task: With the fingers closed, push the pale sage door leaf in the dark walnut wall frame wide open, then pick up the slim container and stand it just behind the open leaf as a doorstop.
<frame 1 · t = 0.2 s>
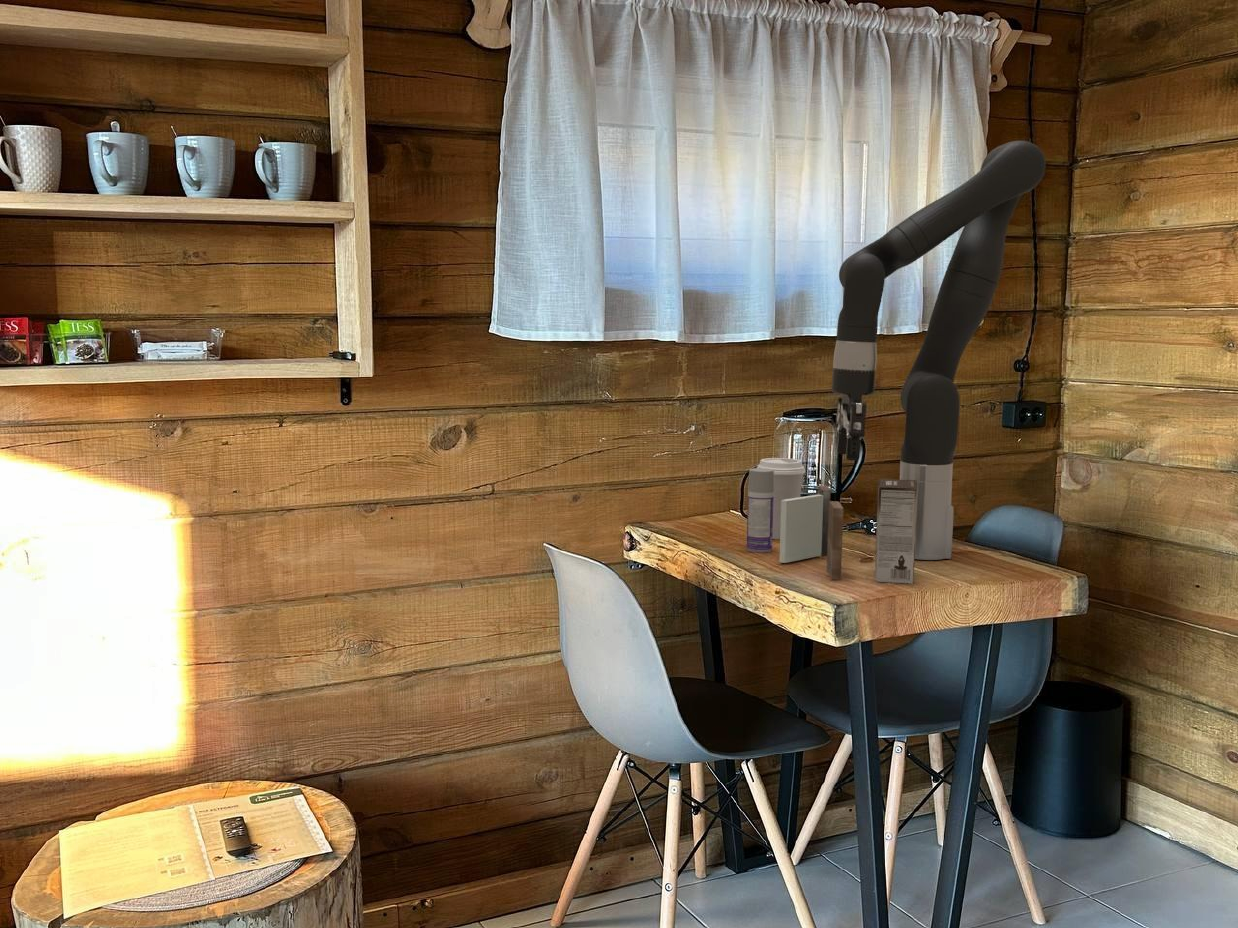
hand: (847, 457, 215), 18 cm above the table, tool pointing down, fingers open, 8 cm apart
coffee cup: (778, 537, 234), on the table
door leaf: (801, 528, 212), point 6 cm above the table, hinge at 45.0°
container: (759, 551, 221), on the table
coffee box: (894, 578, 201), on the table
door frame: (828, 563, 210), on the table
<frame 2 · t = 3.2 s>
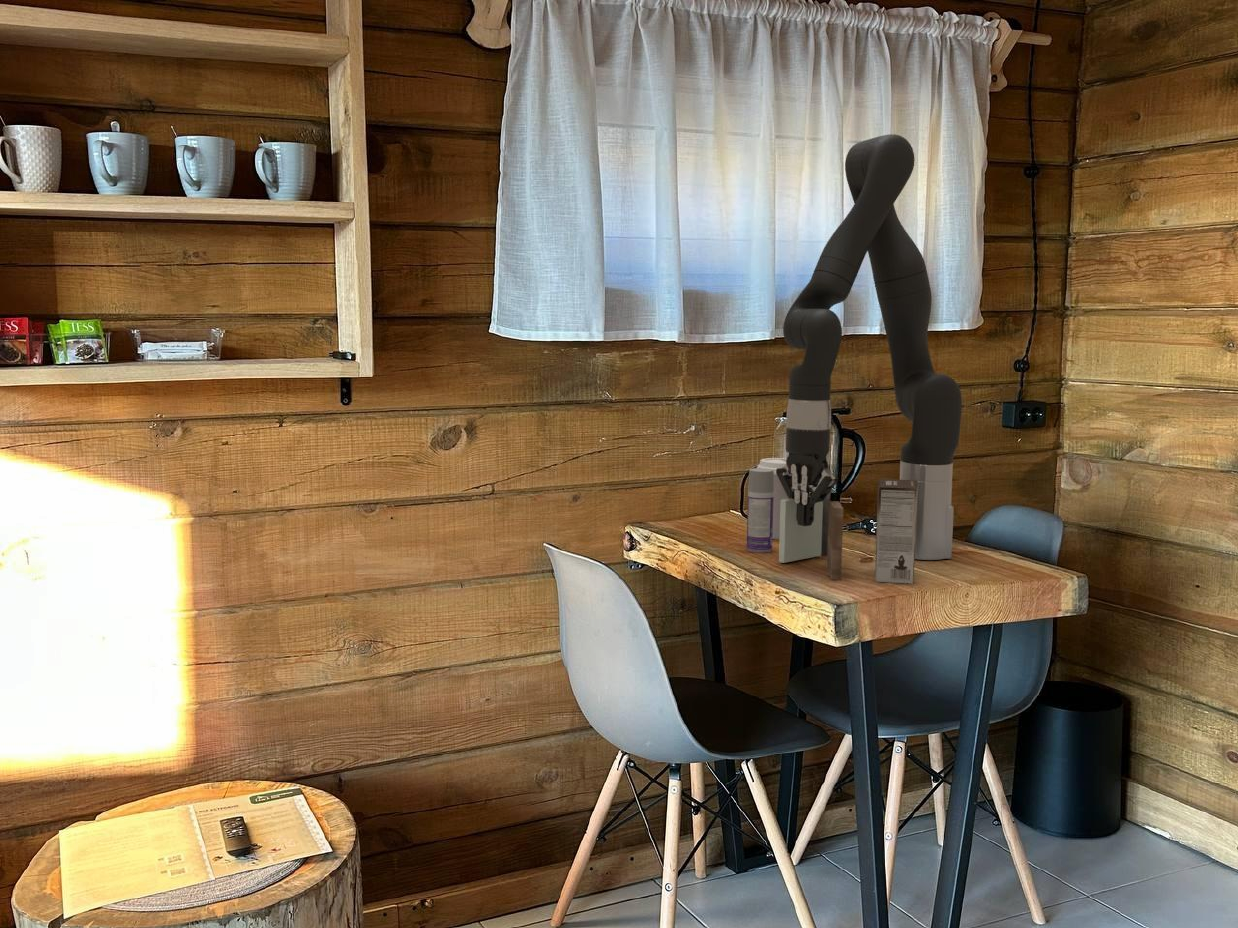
hand: (804, 525, 207), 7 cm above the table, tool pointing down, fingers closed
door leaf: (801, 528, 212), point 6 cm above the table, hinge at 45.9°, touching gripper
everything else where it was.
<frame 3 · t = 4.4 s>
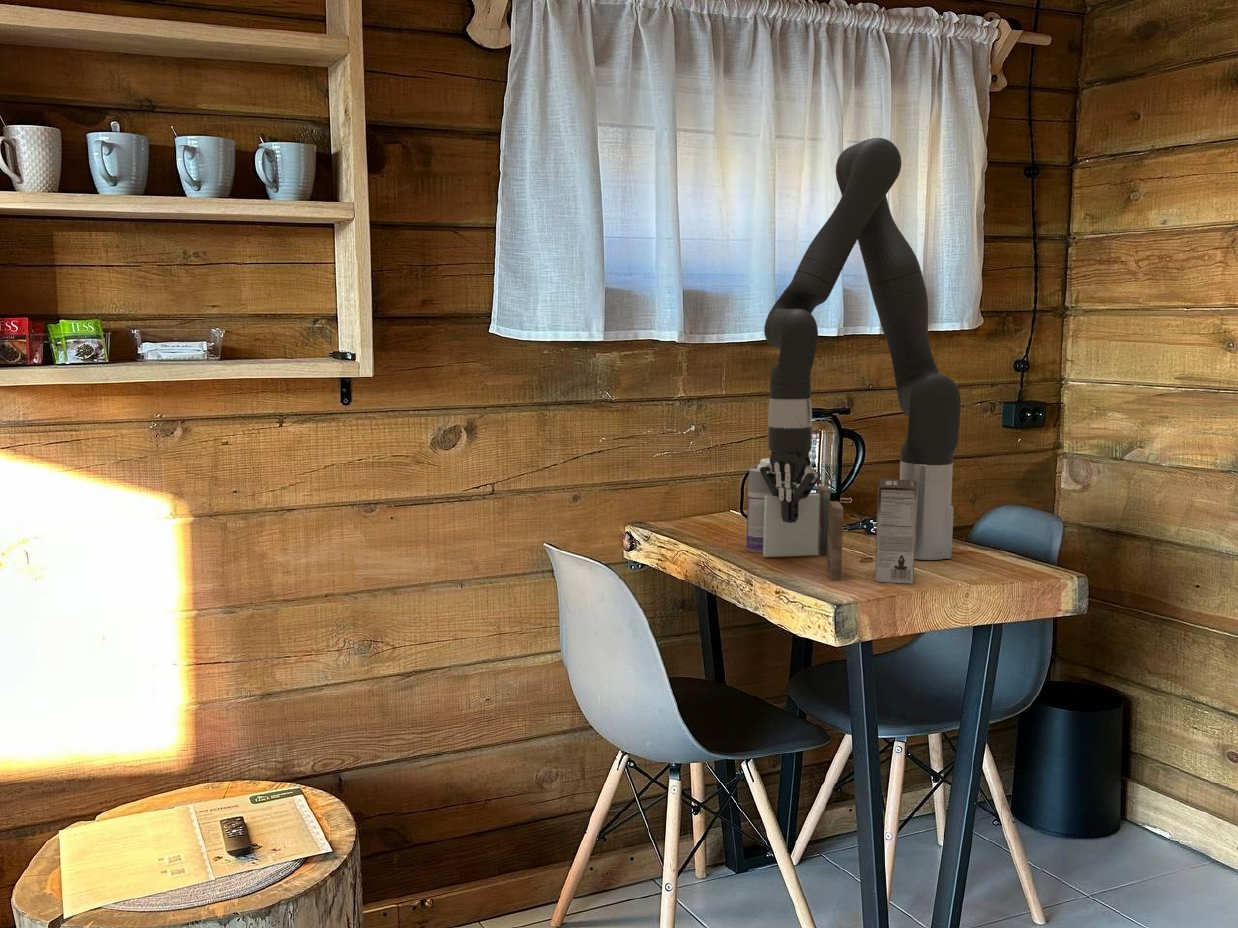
hand: (789, 521, 211), 7 cm above the table, tool pointing down, fingers closed
door leaf: (791, 525, 215), point 6 cm above the table, hinge at 73.1°, touching gripper
everything else where it was.
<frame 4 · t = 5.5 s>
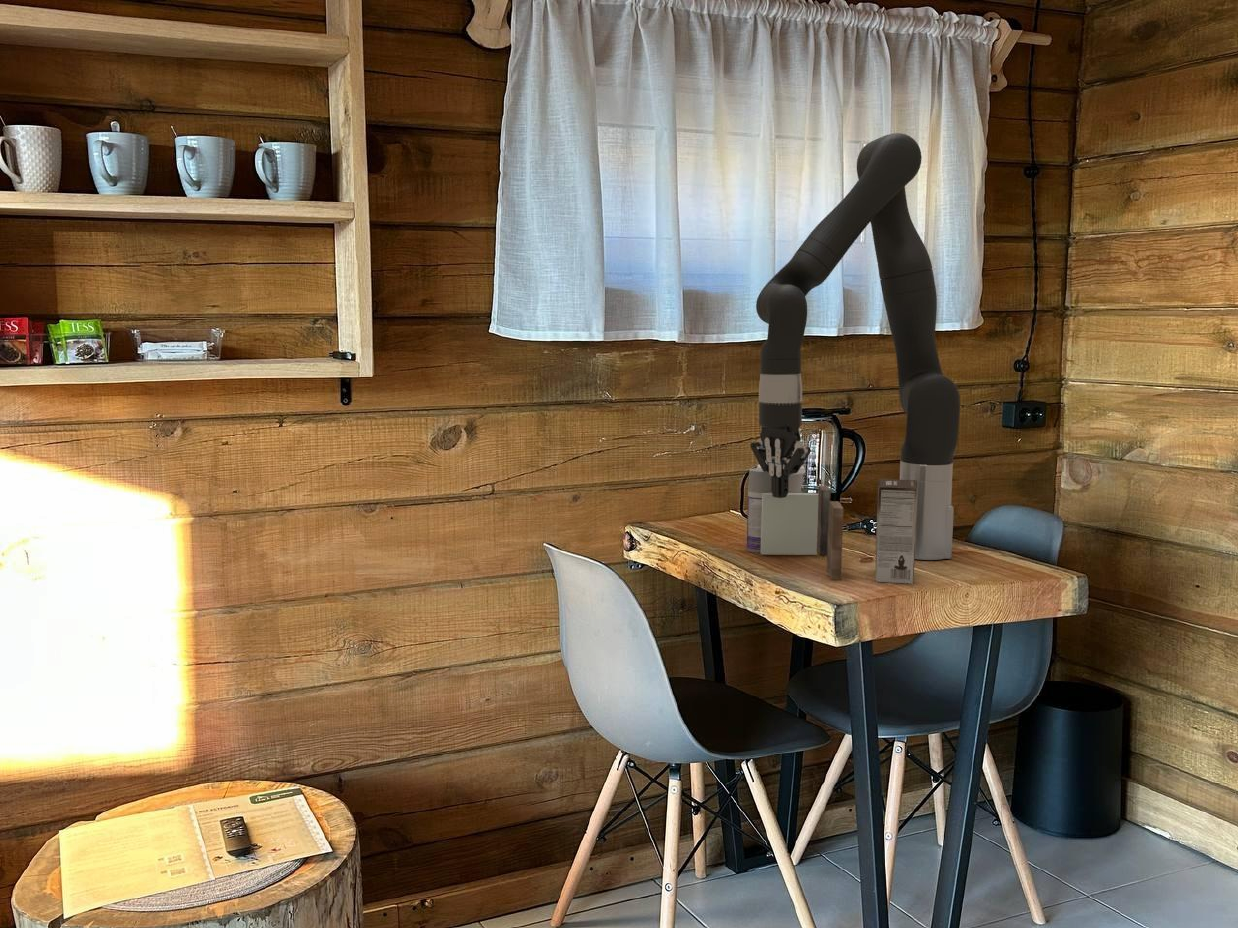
hand: (779, 497, 212), 11 cm above the table, tool pointing down, fingers closed
door leaf: (789, 523, 216), point 6 cm above the table, hinge at 84.0°
everything else where it was.
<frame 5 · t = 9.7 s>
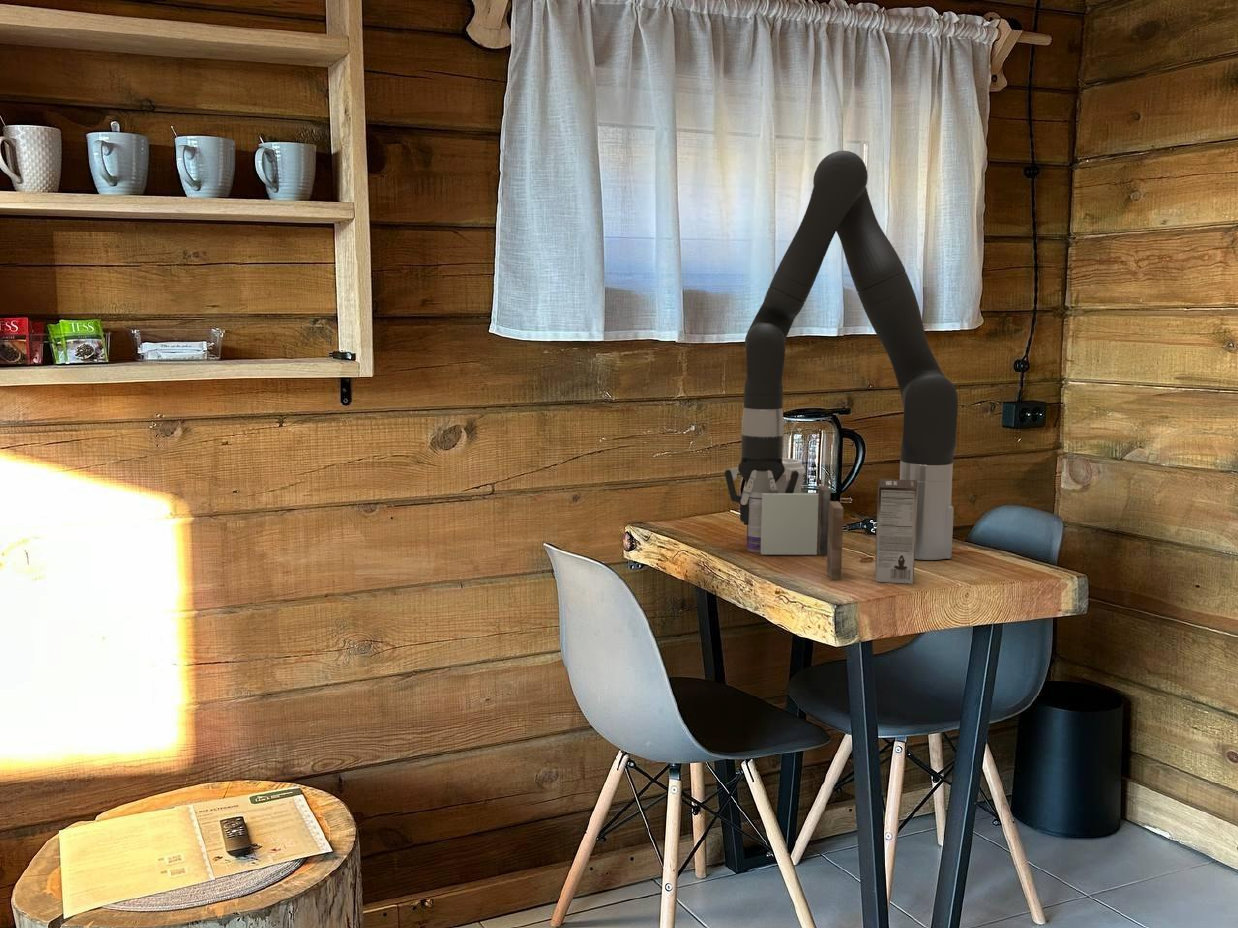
hand: (759, 524, 221), 5 cm above the table, tool pointing down, fingers closed on container, 4 cm apart
container: (759, 551, 221), on the table, touching gripper
everything else where it was.
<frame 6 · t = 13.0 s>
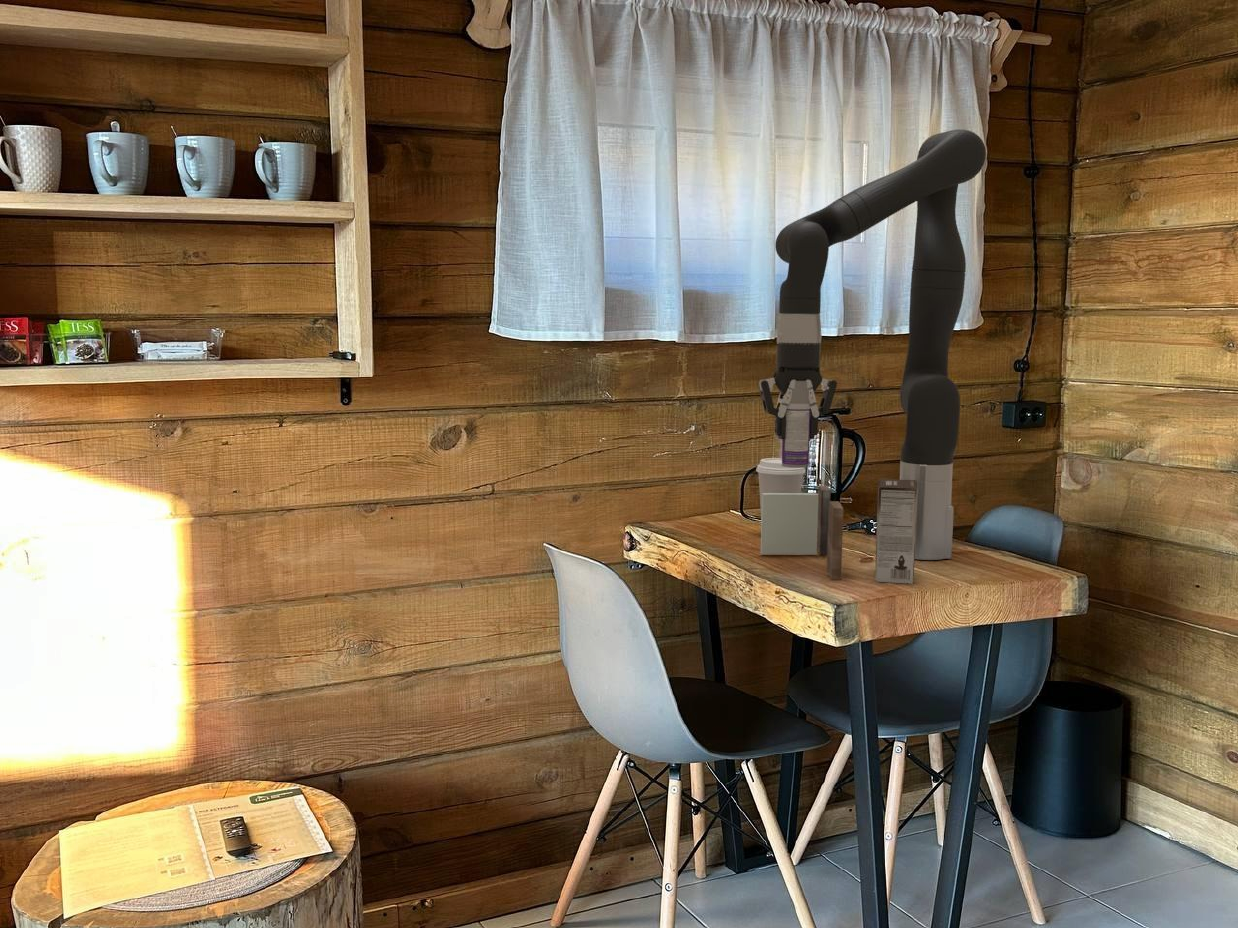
hand: (795, 438, 208), 22 cm above the table, tool pointing down, fingers closed on container, 4 cm apart
container: (795, 467, 209), point 17 cm above the table, touching gripper
everything else where it was.
when the fingers open (6 cm above the table, at t = 16.1 s): container drops 1 cm, on the table.
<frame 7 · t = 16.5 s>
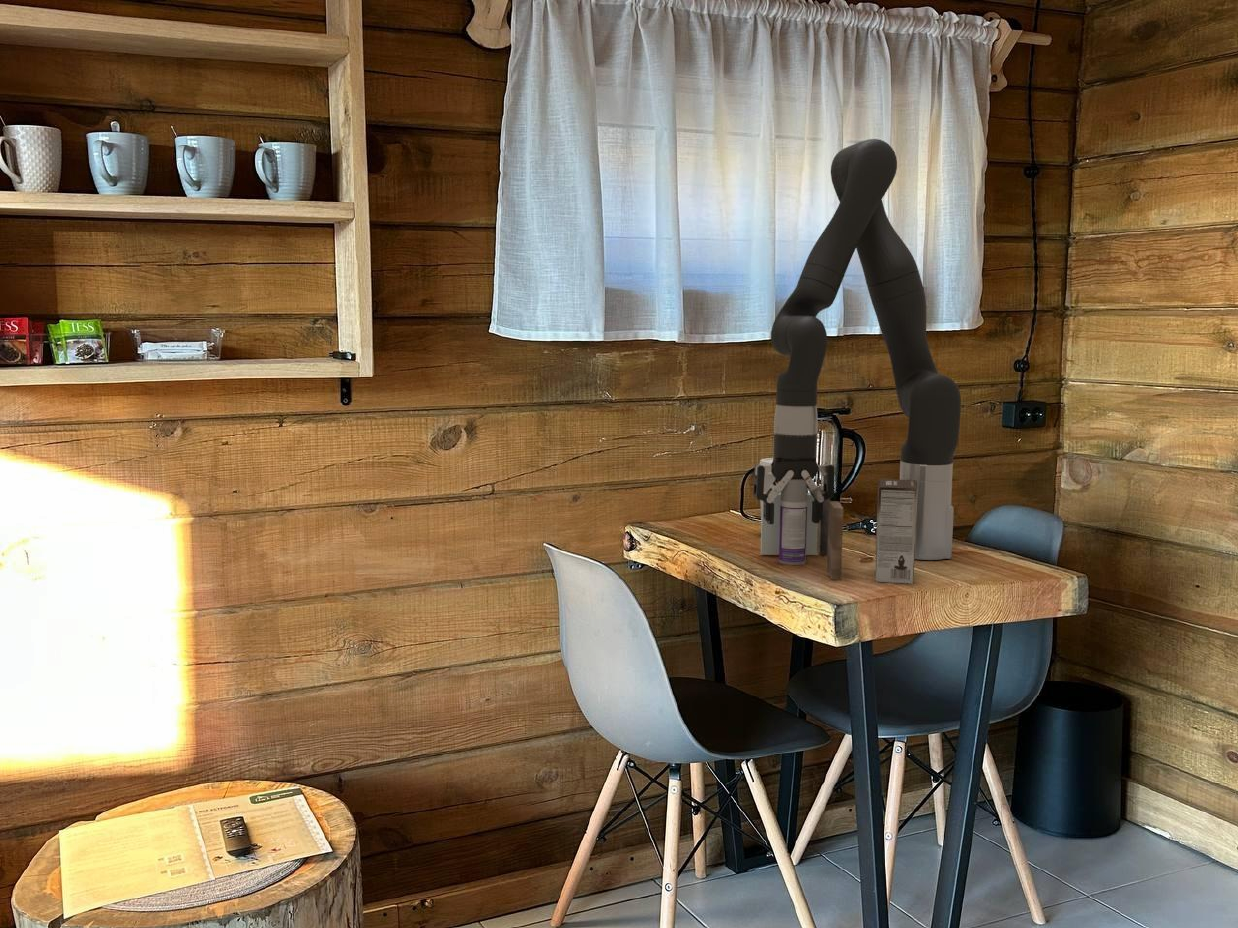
hand: (792, 523, 210), 7 cm above the table, tool pointing down, fingers open, 8 cm apart
container: (792, 563, 211), on the table
everything else where it was.
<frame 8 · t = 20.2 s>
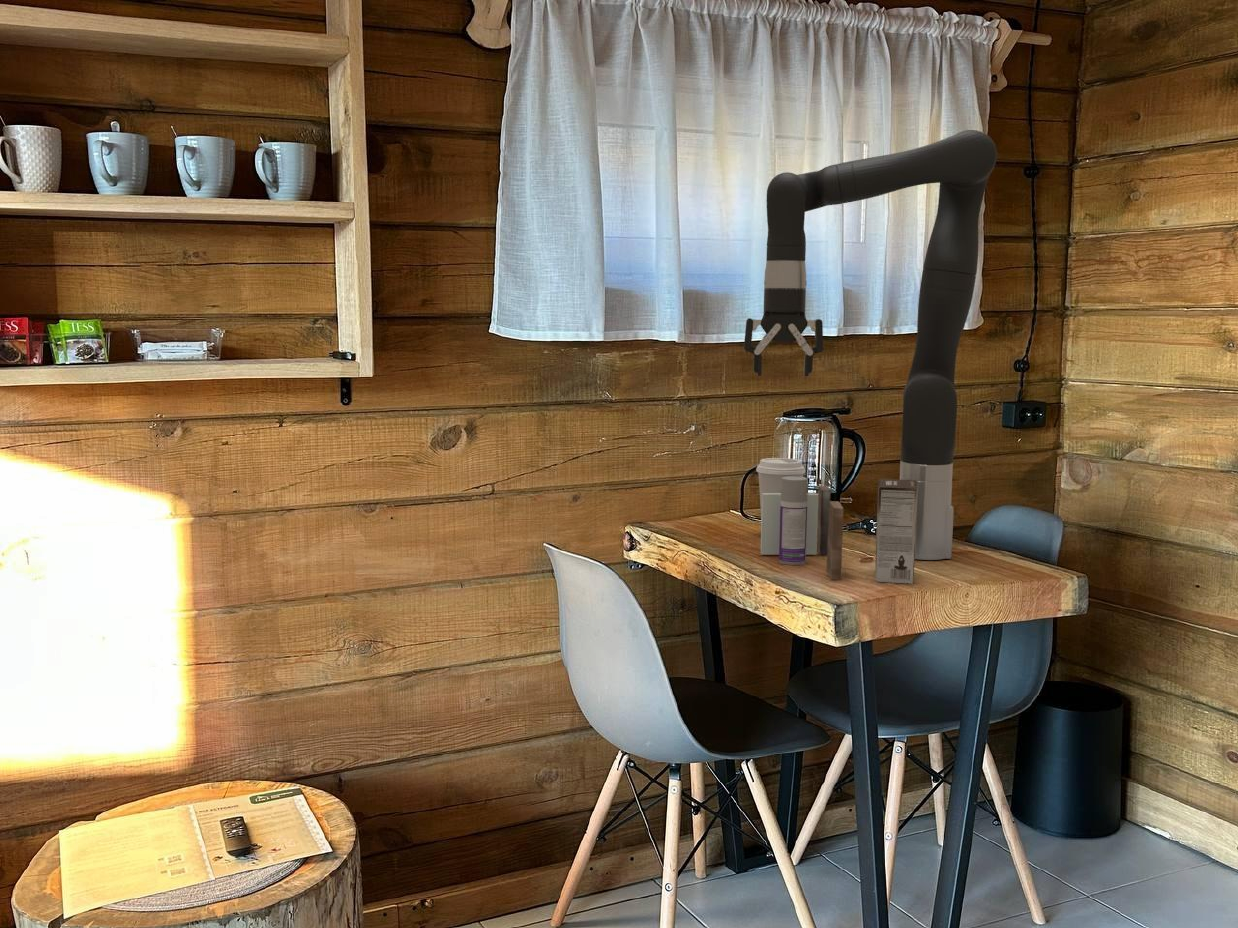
hand: (782, 375, 219), 32 cm above the table, tool pointing down, fingers open, 8 cm apart
nothing on the table moved.
at the end: door leaf at +84° (first picture: +45°); container 0.1 cm from the target spot, on the table; container tilted 0° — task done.
